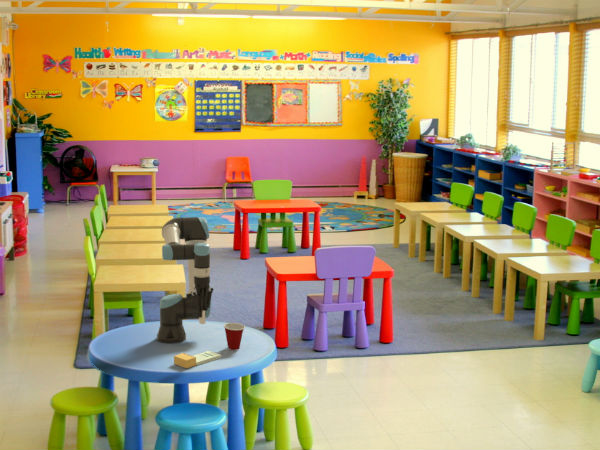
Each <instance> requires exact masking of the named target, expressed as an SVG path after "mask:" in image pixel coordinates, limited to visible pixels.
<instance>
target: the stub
mask: <svg viewBox="0 0 600 450" xmlns="http://www.w3.org/2000/svg"><path fill="white" fill-rule="evenodd" d="M173 364H174V365H176V366H179V367H182V368H184V369H189V368H192V367H196V357H194V356H193V355H191V354H187V353H186V352H181V353H179V354H176V355H174V356H173Z"/></svg>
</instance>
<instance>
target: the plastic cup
mask: <svg viewBox="0 0 600 450" xmlns="http://www.w3.org/2000/svg"><path fill="white" fill-rule="evenodd" d="M223 328H224V331H225V338H226V344H227V348H228V349H229V350H231V351H235V350H239V349H240V347H241V342H242V339H243V338H242V337H243V333H244V330H245V328H246V326H245V325H244V324H242V323H238V322H237V323H236V322H227V323H225V324H223Z"/></svg>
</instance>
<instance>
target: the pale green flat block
mask: <svg viewBox="0 0 600 450" xmlns="http://www.w3.org/2000/svg"><path fill="white" fill-rule="evenodd" d="M192 356H194V357H196V365H195V367H196V366H199V365H203V364H206V363H209V362H212V361H216V360H218V359H221V358H222V354H220V353H217V352H214V351H211V350H206V351H203V352H201V353H196V354H194V355H192Z"/></svg>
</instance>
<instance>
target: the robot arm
mask: <svg viewBox="0 0 600 450" xmlns="http://www.w3.org/2000/svg"><path fill="white" fill-rule="evenodd" d="M161 237H162V239H164V244H163V245H162V246H161V247H162V248H161V254H162V255H161V257H162V260H163V261H169V262H170V261H187V262H188V263H187V268H188V271H187V272H188V273H187V274H188V291H187V292H186V293H185V296H184V297H183V295H182V294H180V293H172V294H168V295H167V294H166V295H164V296H163V297H161V298H160V300H159V328H158V331H157V335H156V340H157V342H159V343H163V344H178V343H182V342H184V341H186V339H187V334H186V331H185V328H184V325H183V320H185V321H187V320H199V321H198V323H199V324H201V325H205V324H206V319H209V317H210V314H211V310H212V295H213V292H214V288H213V287H211V286H210V284H211V276H210V275H211V265H210V264H211V263H210V262H211V249H210V248H211V246H210V244H208V243H207V240H208V239H210V230H209V225H208V221H207V219H206V218H205V217H199V216H191V217H189V216H188V217H174V218H172V219H169V220H168V221H167V222H165V224H164V225H163V226H162V228H161ZM181 240H184V244H181Z"/></svg>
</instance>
